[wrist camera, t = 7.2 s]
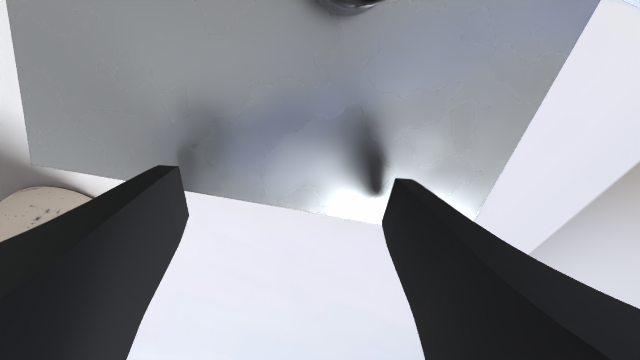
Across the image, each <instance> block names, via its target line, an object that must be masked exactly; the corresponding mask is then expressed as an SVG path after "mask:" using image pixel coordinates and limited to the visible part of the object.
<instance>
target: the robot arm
mask: <svg viewBox="0 0 640 360" xmlns="http://www.w3.org/2000/svg"><path fill="white" fill-rule="evenodd" d="M623 1H625V2H627V3H629V4H631V5H633V6H636V7H638V8H640V0H623ZM188 217H189V213H188V208H187V203H186V198H185V193H184V188H183V183H182V179H181V174H180V169H179V166H167V165H157V166H155V167H153V168H151V169H149V170H146V171H145V172H143V173H141V174H139V175H137V176H135V177H133V178H131V179H129V180H127V181H126V182H124V183H122V184H120V185H118V186H116V187H114V188H112V189H111V190H109V191H107V192H105V193H103V194H101V195H99V196H97V197H96V198H94V199H92V200H90V201H88V202H86V203H84V204H82V205H80V206H78V207H76V208H74V209H72V210H69V211H67V212H65V213H63V214H61V215H59V216H57V217H55V218H53V219H51V220H49V221H47V222H45V223H43V224H41V225H38V226H36V227H34V228H32V229H29V230H27V231H25V232H23V233H20V234H18V235H16V236H13V237H11V238H8V239H6V240H4V241H1V242H0V360H126V359H127V357H128V354H129V352H130V349H131V346H132V344H133V341H134V339H135V336H136V333H137V331H138V328H139V326H140V323H141V321H142V319H143V316H144V314H145V312H146V310H147V308H148V306H149V304H150V302H151V300H152V298H153V296H154V294H155V292H156V290H157V288H158V286H159V284H160V282H161V280H162V278H163V276H164V274H165V272H166V270H167V268H168V266H169V264H170V262H171V260H172V258H173V256H174V254H175V252H176V250H177V248H178V246H179V243H180V241H181V238H182V235H183V233H184V230H185V226H186V223H187V220H188ZM381 222H382V227H383V231H384V236H385V240H386V244H387V247H388V250H389V253H390V256H391V258H392V261H393V264H394V266H395V269H396V271H397V274H398V277H399V279H400V282H401V284H402V287H403V290H404V292H405V295H406V297H407V300H408V302H409V305H410V308H411V311H412V314H413V317H414V320H415V323H416V327H417V331H418V334H419V338H420V341H421V345H422V349H423V352H424V356H425V360H640V309H638V308H636V307H634V306H632V305H629V304H627V303H624V302H622V301H620V300H618V299H615V298H613V297H611V296H609V295H607V294H604V293H602V292H600V291H598V290H596V289H594V288H591V287H589V286H587V285H585V284H583V283H581V282H579V281H577V280H575V279H573V278H571V277H569V276H567V275H565V274H563V273H561V272H559V271H557V270H555V269H553V268H551V267H549V266H547V265H545V264H544V263H542V262H540V261H538V260H536V259H534V258H533V257H531V256H529V255H527V254H525V253H524V252H522V251H520V250H518V249H517V248H515V247H513V246H511V245H510V244H508V243H506V242H505V241H503V240H501V239H500V238H498V237H497V236H495V235H493V234H492V233H490V232H489V231H487V230H486V229H484V228H483V227H481V226H480V225H478V224H477V223H475V222H474V221H472V220H471V219H469V218H468V217H466V216H465V215H463V214H462V213H461V212H459V211H458V210H456V209H455V208H453V207H452V206H451V205H449V204H448V203H446V202H445V201H444V200H442V199H441V198H440V197H438V196H437V195H435V194H434V193H433V192H431V191H430V190H428V189H427V188H425V187H424V186H423V185H421V184H420V183H418V182H416V181H415V180H413V179H404V178H395V181H394V184H393V187H392V190H391V193H390V196H389V199H388V203H387V206H386V209H385V212H384V215H383V218H382V221H381Z"/></svg>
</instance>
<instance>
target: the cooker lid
mask: <svg viewBox="0 0 640 360" xmlns="http://www.w3.org/2000/svg"><path fill="white" fill-rule="evenodd" d="M599 2H600V0H6V3H7V10H8V16H9V23H10V29H11V35H12V42H13V48H14V55H15V61H16V67H17V74H18V80H19V87H20V93H21V99H22V106H23V112H24V119H25V125H26V131H27V138H28V144H29V151H30V157H31V163H32V165H37V166H43V167H49V168H54V169H60V170H66V171H72V172H78V173H84V174H90V175H95V176H101V177H107V178H113V179H119V180H125V181H127V180H129V179H131V178H133V177H135V176H137V175H139V174H141V173H143V172H145V171H146V170H149V169H151V168H153V167H155V166H157V165H167V166H179V169H180V174H181V179H182V183H183V188H184V191H189V192H195V193H201V194H207V195H212V196H218V197H224V198H230V199H236V200H242V201H248V202H253V203H259V204H265V205H271V206H277V207H283V208H289V209H294V210H300V211H306V212H312V213H318V214H324V215H330V216H335V217H341V218H347V219H353V220H359V221H365V222H370V223H376V224H382V222H381V221H382V218H383V215H384V212H385V209H386V206H387V203H388V199H389V196H390V193H391V190H392V187H393V184H394V181H395V178H404V179H413V180H415V181H416V182H418V183H420V184H421V185H423V186H424V187H425V188H427V189H428V190H430V191H431V192H433V193H434V194H435V195H437V196H438V197H440V198H441V199H442V200H444V201H445V202H446V203H448V204H449V205H451V206H452V207H453V208H455V209H456V210H458V211H459V212H461V213H462V214H463V215H465V216H466V217H468V218H469V219H471V220H472V221H474V220H475V218H476V216H477V214H478V213H479V211H480V209H481V207H482V206H483V204H484V202H485V200H486V199H487V197H488V195H489V193H490V192H491V190H492V188H493V187H494V185H495V183H496V181H497V180H498V178H499V176H500V174H501V173H502V171H503V169H504V167H505V166H506V164H507V162H508V160H509V159H510V157H511V155H512V153H513V152H514V150H515V148H516V146H517V145H518V143H519V141H520V140H521V138H522V136H523V134H524V133H525V131H526V129H527V127H528V126H529V124H530V122H531V120H532V119H533V117H534V115H535V113H536V112H537V110H538V108H539V106H540V105H541V103H542V101H543V100H544V98H545V96H546V94H547V93H548V91H549V89H550V87H551V86H552V84H553V82H554V80H555V79H556V77H557V75H558V73H559V72H560V70H561V68H562V66H563V65H564V63H565V61H566V59H567V58H568V56H569V54H570V53H571V51H572V49H573V47H574V46H575V44H576V42H577V40H578V39H579V37H580V35H581V33H582V32H583V30H584V28H585V26H586V25H587V23H588V21H589V19H590V18H591V16H592V14H593V13H594V11H595V9H596V7H597V6H598V4H599Z"/></svg>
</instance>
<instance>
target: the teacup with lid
mask: <svg viewBox="0 0 640 360" xmlns="http://www.w3.org/2000/svg"><path fill="white" fill-rule="evenodd" d="M90 200H92V198H90V197H87V196H85V195H83V194H80V193H77V192H74V191H71V190H67V189H62V188H56V187H31V188H26V189H22V190H19V191H17V192H15V193H13V194H11V195H9V196H8V197H7V198H5V199H4V200H2V201H1V202H0V242H1V241H4V240H6V239H8V238H11V237H13V236H16V235H18V234H20V233H23V232H25V231H27V230H29V229H32V228H34V227H36V226H38V225H41V224H43V223H45V222H47V221H49V220H51V219H53V218H55V217H57V216H59V215H61V214H63V213H65V212H67V211H69V210H72V209H74V208H76V207H78V206H80V205H82V204H84V203H86V202H88V201H90Z"/></svg>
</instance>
